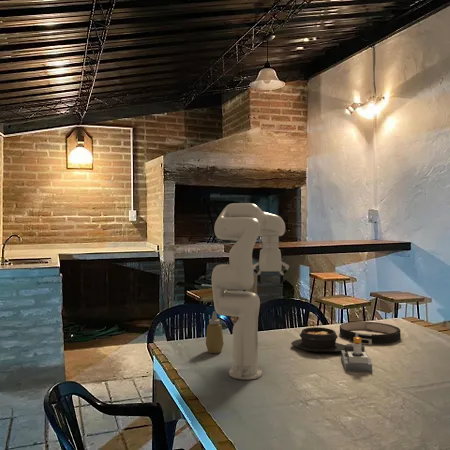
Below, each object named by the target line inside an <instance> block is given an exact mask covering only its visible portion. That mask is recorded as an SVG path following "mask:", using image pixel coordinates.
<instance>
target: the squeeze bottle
mask: <svg viewBox="0 0 450 450" xmlns="http://www.w3.org/2000/svg"><path fill="white" fill-rule="evenodd" d="M208 323H209V324H207V327H206V336H205V346H206V348H207V352H208V353H209V354H219V353H222V351H223V348H224V336H223V333H224V332H223V327H222V326H223V325H222V324H221V323H220V319H219V318H218V316H217V312H216V311H213V312H212V315H211V318H210V319H209V321H208Z"/></svg>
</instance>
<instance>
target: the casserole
mask: <svg viewBox="0 0 450 450" xmlns="http://www.w3.org/2000/svg"><path fill="white" fill-rule="evenodd" d="M299 337H300V338H299V339H296V340H293V341H292V342H291V343H290V344H291V346H293V347H297V348H300V349H303V350H305V351H309V352H312V353H318V354H319V353H329V352H331V353H335V352H336V353H339V352H340V353H341V350H345V345H346V344H343V343H338V342H337V339H338V337H339V336H338V335H337V332H336V331H335V330H334V329H330V328H327V327H316V326H313V327H306V328H303V329H301V333H300V334H299Z"/></svg>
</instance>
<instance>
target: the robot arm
mask: <svg viewBox="0 0 450 450" xmlns="http://www.w3.org/2000/svg"><path fill="white" fill-rule="evenodd" d="M213 228H214V229H213V230H214V231H213V232H214V235H215V236H216V238H218V239H219V240H224V241H226V240H228V241H229V240H230V241H232V240H233V241H235V240H236V242H235V243H234V244H233V245H232V247H231V249H230V250H229V252H228V258H229V259H228V260H229V261H228V263H229V264H228V263H227V264H226V263H225V264H224V263H223V264H222V263H221V264H217V265H216V266H214V267H213V269H212V273H211V288H212V289H211V290H212V297H213V305H214V310H215V312H216V314H217V315H220V316H226V317H227V316H229V317H236V318H237V317H238V320H237V321H236V322H235V323H234V324H233V327H232V368H231V369H229V370H228V375H229V376H230V377H231V378H233V379H235V380H243V381H245V380H246V381H248V380H255V379H259V378H260V377H262V375H263V371H262V369H260V368H259V361H258V360H259V347H258V346H259V345H258V344H259V343H258V341H259V340H258V339H259V337H258V335H259V334H258V330H259V329H258V327H259V323H258V322H259V314H260V313H259V312H260V306H261V300H260V297H259V295H258V294H257V293H255V292H252V291H246V290H251V289H252V288H253V286H254V281H255V279H254V277H255V275H254V273H255V274H256V275H257V282H258V284H259V285H260V284H262V272H279V274H280V275H279V277H280V278H279V284H280V285H282V284H283V283H284V275H285V274H286V273H287V272H288V270H289V268H290V265H289V264H287V263H286V262H283V261H282V253H281V249H279V237H282V236H284V234H285V232H286V224H285V221H284V220H283V218H282V217H281V216H280V215H277V214H273V213H269V212H266V211H263V210H262V209H261V208H260V207H259V206H258V205H256V204H255V203H251V202H242V203H241V202H240V203H239V202H237V203H236V202H233V203H229V204H227V205H226V206H225V207H224V208H223V209H222V211H221V212H220V214H219V215H218V217H217V219H216V221H215V223H214V227H213ZM258 237H261V241H262V242H261V243H258V247H259V248H261V249H260V250H259V260H258V262H256V263H254V264H253V252H254V251H253V250H254V247H255V245H256V241H257V239H258ZM257 266H259V267H258V269H259V270H258V269H257V268H256V267H257ZM282 266H283V267H285V268H284V270H282V268H283V267H282Z"/></svg>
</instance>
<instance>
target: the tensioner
mask: <svg viewBox="0 0 450 450" xmlns="http://www.w3.org/2000/svg"><path fill="white" fill-rule="evenodd" d="M344 345H345V350H341V351H340V354H341V355H340V356H341V358H340V359H341V361H342V364H343V367H344V371H345V372H359V373H361V372H362V373H373V363H372V361H371V359H370V358H369V355H368V353H367V351H366V349H365V346H364V345H363V344H361V356H354V344H353V343H346V344H344Z"/></svg>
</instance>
